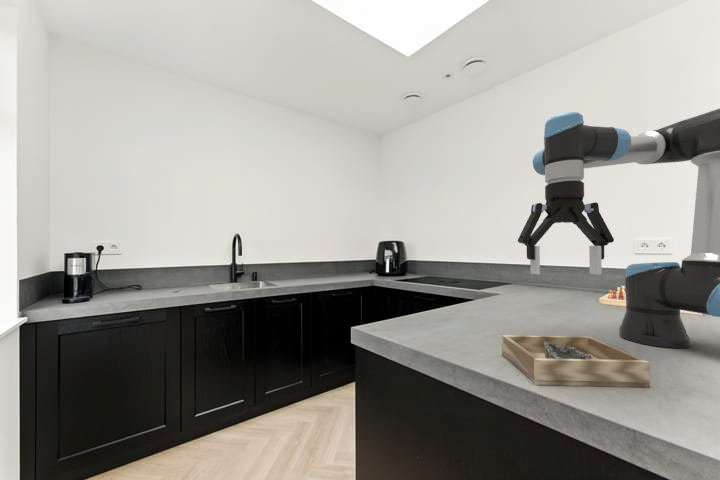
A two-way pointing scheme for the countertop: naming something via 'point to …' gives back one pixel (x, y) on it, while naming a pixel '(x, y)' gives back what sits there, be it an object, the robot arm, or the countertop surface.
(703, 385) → the countertop surface
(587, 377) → the tray
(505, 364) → the countertop surface
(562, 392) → the countertop surface
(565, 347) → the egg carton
